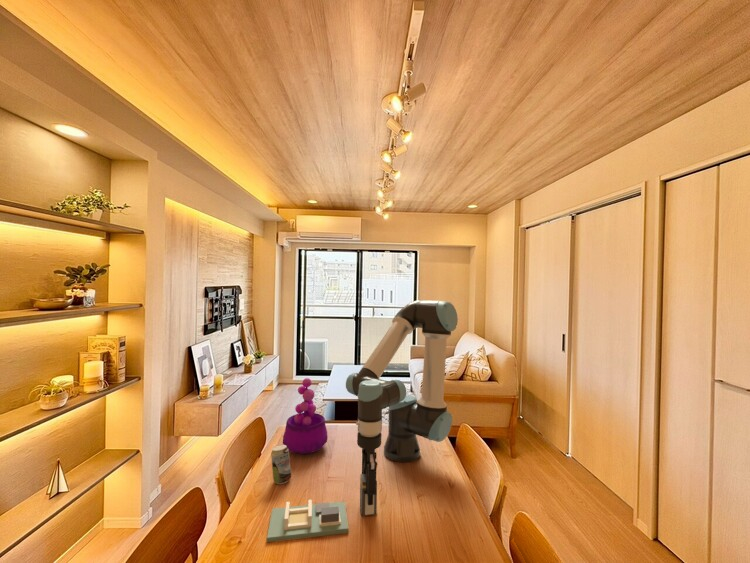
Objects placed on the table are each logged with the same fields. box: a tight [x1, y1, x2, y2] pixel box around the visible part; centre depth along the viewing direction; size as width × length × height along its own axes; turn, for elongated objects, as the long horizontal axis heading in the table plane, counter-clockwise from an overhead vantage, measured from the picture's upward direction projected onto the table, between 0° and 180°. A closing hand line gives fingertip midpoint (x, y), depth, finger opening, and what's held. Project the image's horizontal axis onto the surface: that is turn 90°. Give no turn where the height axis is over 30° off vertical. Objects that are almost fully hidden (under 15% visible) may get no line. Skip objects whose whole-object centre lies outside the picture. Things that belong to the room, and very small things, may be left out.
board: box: [266, 499, 350, 543], centre depth 96 cm, size 22×12×4 cm, turn 101°
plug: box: [359, 473, 378, 517], centre depth 102 cm, size 5×5×10 cm
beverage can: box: [270, 444, 292, 485], centre depth 117 cm, size 6×7×12 cm
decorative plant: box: [282, 377, 328, 455], centre depth 141 cm, size 19×19×30 cm
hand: (368, 507), depth 102 cm, fingers closed on plug, 4 cm apart
